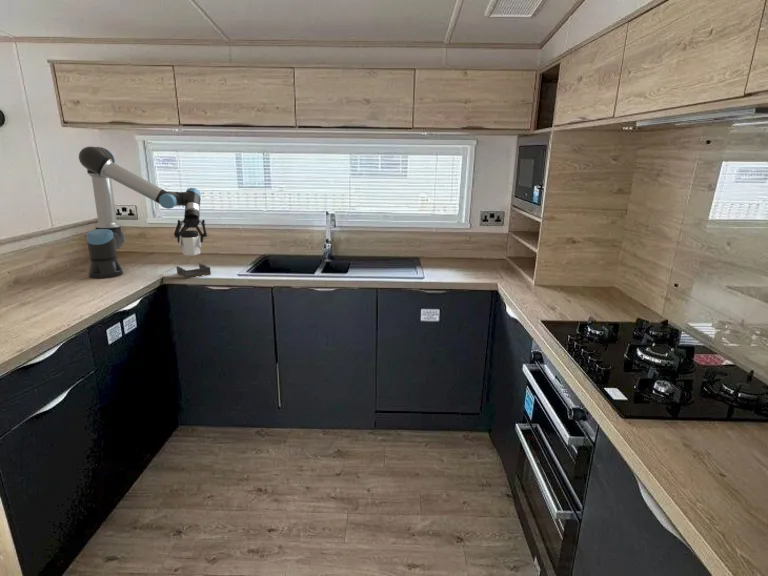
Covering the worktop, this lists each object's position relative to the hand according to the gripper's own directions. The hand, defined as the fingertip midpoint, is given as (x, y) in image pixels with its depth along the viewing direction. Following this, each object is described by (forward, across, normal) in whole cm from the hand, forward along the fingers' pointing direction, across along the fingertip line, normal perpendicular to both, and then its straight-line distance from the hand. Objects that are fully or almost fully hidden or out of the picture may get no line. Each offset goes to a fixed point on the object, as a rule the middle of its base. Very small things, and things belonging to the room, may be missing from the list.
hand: (189, 247), depth 225 cm
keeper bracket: (+9, 0, -13) cm, 16 cm away
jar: (+1, 0, -5) cm, 5 cm away
